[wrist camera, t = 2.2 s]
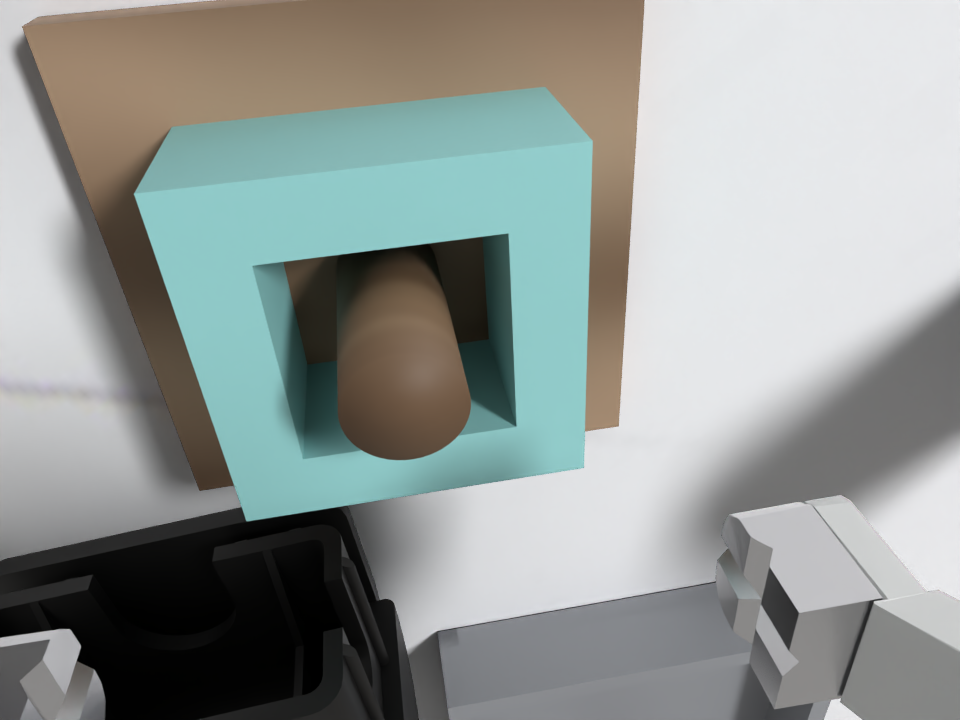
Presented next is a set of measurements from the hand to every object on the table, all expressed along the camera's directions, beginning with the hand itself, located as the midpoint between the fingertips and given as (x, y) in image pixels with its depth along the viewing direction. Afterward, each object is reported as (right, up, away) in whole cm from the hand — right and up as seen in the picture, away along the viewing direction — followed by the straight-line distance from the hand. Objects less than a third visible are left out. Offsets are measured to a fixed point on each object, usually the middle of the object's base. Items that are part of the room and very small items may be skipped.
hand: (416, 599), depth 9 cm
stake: (-1, +5, +6) cm, 8 cm away
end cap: (-7, -4, +12) cm, 14 cm away
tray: (+6, -9, +18) cm, 21 cm away
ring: (-1, +5, +5) cm, 7 cm away
